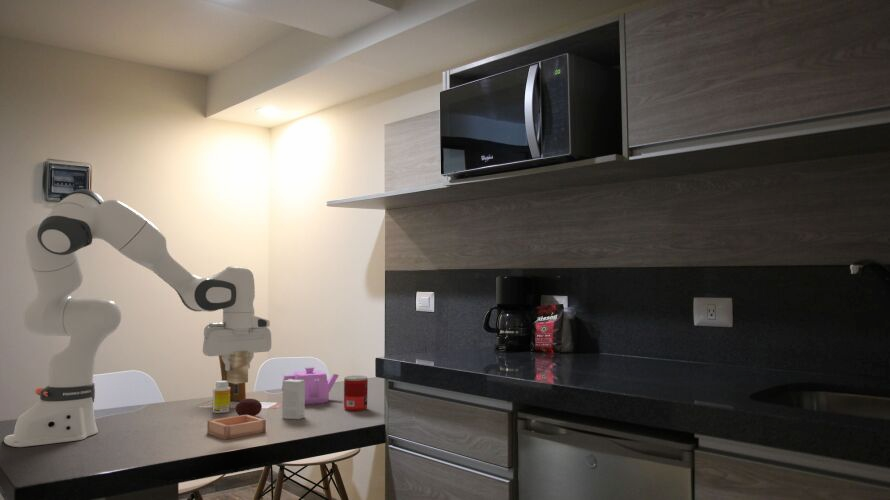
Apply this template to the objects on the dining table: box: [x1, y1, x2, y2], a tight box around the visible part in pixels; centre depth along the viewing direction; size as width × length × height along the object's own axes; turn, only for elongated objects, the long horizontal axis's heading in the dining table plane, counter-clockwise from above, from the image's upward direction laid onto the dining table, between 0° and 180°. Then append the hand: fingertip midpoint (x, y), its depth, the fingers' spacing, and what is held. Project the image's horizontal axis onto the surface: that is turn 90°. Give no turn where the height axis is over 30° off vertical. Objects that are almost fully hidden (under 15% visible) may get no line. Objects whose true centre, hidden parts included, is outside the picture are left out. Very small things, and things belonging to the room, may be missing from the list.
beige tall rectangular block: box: [227, 351, 249, 384], centre depth 189 cm, size 4×5×9 cm
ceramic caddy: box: [206, 415, 267, 440], centre depth 188 cm, size 12×11×4 cm
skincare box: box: [281, 379, 306, 420], centre depth 209 cm, size 6×4×12 cm
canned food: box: [343, 375, 369, 412], centre depth 223 cm, size 8×8×11 cm
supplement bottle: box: [212, 380, 231, 414], centre depth 218 cm, size 6×6×10 cm
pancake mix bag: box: [218, 355, 247, 402], centre depth 242 cm, size 7×19×28 cm, turn 48°
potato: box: [235, 398, 263, 417], centre depth 209 cm, size 7×8×6 cm
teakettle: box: [281, 366, 339, 405], centre depth 239 cm, size 17×17×12 cm
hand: (237, 369), depth 189 cm, fingers closed on beige tall rectangular block, 4 cm apart
